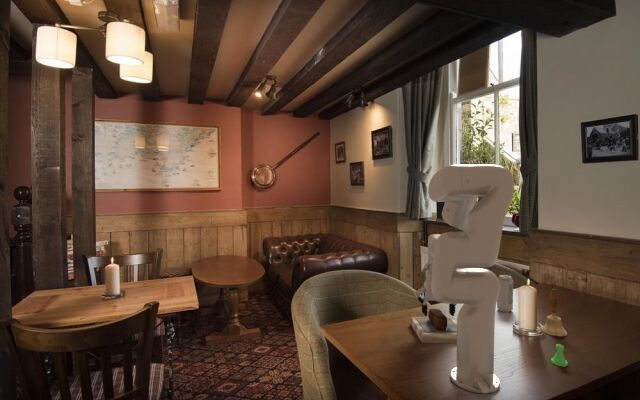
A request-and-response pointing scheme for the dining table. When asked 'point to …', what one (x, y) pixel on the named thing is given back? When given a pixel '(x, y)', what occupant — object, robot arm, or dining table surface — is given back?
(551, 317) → the hand bell
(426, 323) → the plinth
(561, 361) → the game piece
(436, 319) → the brick
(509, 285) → the energy drink can
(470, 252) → the robot arm
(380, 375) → the dining table surface
